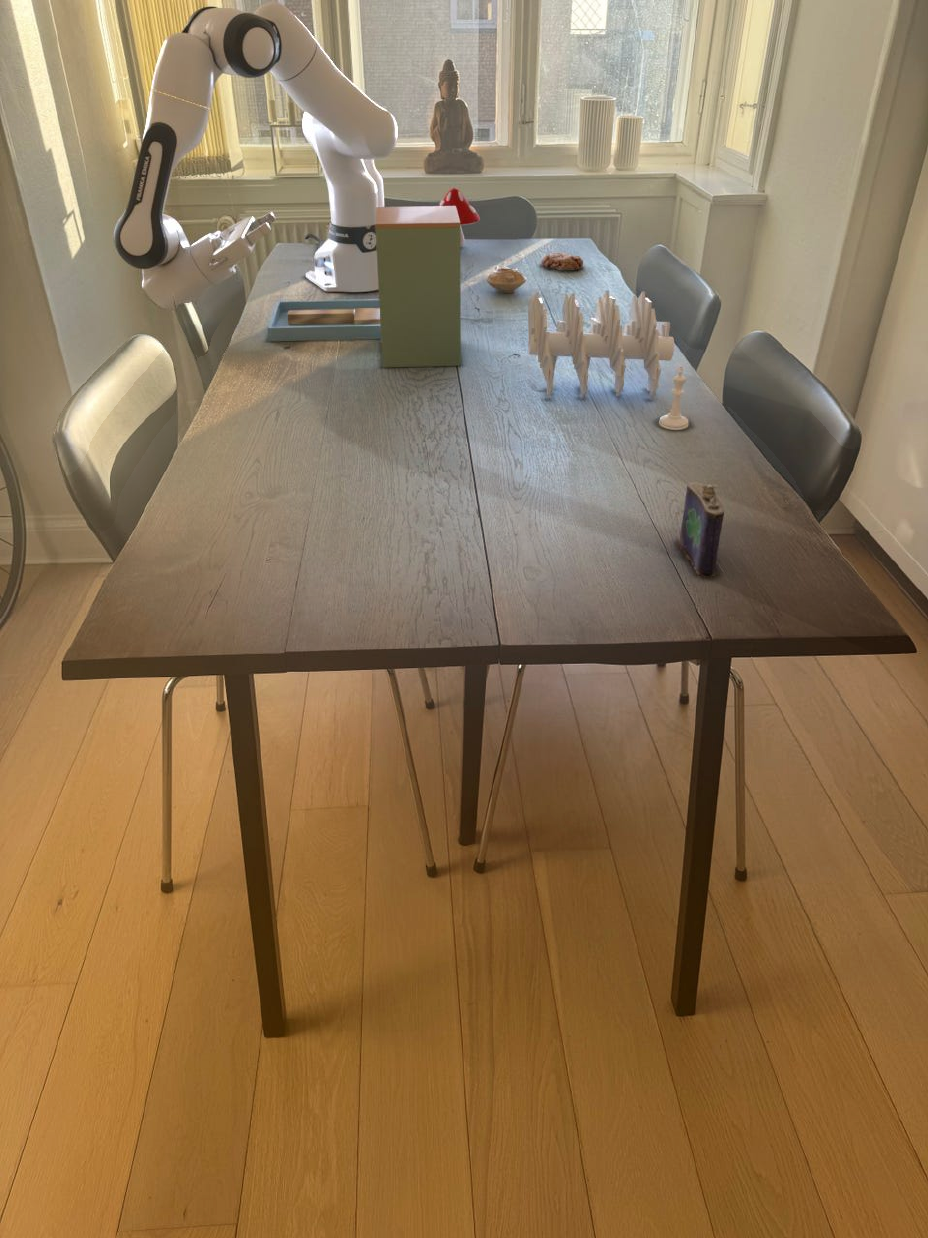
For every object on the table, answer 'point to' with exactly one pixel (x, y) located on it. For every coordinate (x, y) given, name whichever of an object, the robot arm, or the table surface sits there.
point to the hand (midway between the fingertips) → (271, 220)
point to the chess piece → (675, 407)
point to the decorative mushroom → (460, 209)
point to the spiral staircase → (600, 339)
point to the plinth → (419, 285)
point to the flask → (701, 527)
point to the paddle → (335, 316)
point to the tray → (310, 332)
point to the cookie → (562, 261)
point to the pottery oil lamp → (505, 279)
